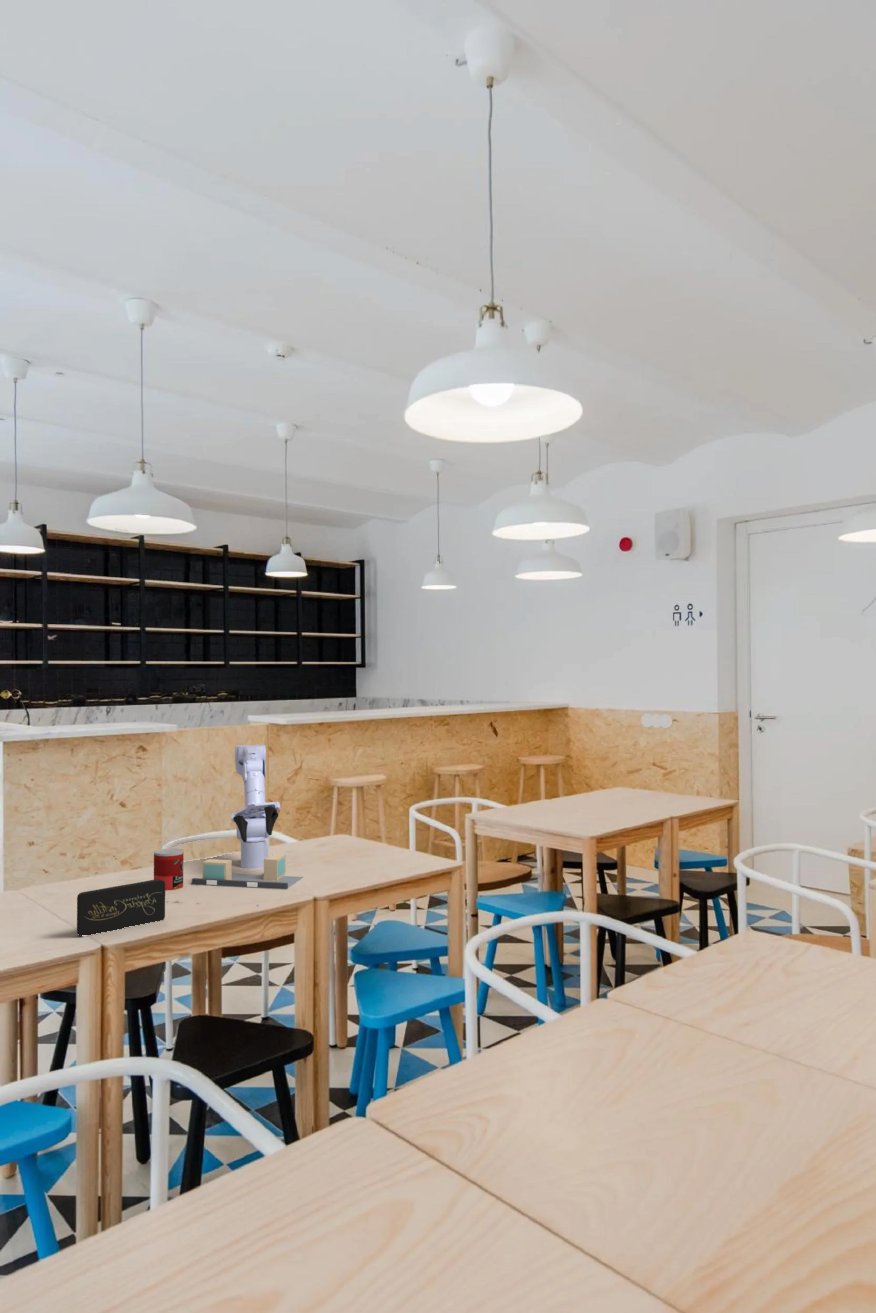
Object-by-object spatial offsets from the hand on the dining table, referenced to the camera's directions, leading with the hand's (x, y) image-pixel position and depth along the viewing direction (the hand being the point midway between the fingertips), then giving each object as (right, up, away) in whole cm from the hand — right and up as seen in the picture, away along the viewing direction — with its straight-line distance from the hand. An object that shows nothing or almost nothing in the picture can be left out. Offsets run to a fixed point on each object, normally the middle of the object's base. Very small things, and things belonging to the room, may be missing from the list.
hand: (256, 837), depth 254 cm
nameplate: (-24, -13, -42) cm, 50 cm away
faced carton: (-11, -13, -2) cm, 17 cm away
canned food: (-23, -14, -7) cm, 28 cm away
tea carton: (+4, -13, +4) cm, 14 cm away
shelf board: (-2, -14, 0) cm, 14 cm away
